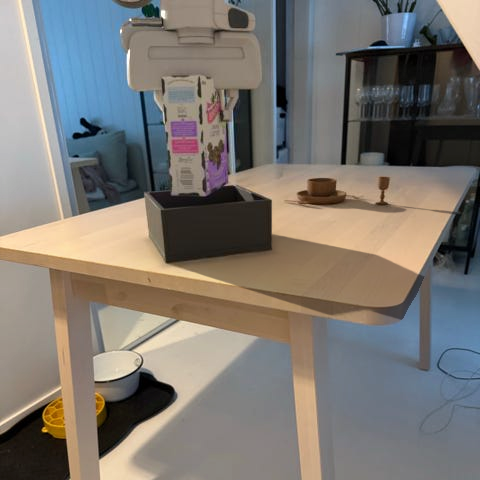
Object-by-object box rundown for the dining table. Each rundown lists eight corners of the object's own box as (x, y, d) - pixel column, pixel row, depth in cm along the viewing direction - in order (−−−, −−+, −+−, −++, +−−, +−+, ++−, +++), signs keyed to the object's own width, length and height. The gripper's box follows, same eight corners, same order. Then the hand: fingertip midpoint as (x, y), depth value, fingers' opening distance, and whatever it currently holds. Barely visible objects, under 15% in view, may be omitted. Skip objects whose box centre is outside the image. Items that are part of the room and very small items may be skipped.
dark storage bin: (165, 263, 70) (160, 210, 66) (149, 236, 85) (143, 192, 81) (272, 249, 75) (272, 199, 71) (238, 226, 90) (236, 184, 86)
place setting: (330, 192, 121) (331, 169, 118) (392, 203, 106) (395, 177, 103) (278, 201, 112) (278, 176, 110) (337, 214, 97) (339, 185, 94)
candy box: (206, 197, 69) (199, 72, 62) (169, 197, 70) (158, 75, 63) (229, 183, 81) (225, 78, 74) (197, 183, 82) (190, 79, 75)
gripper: (120, 12, 60) (133, 126, 66) (265, 16, 66) (266, 121, 72) (116, 20, 66) (128, 125, 72) (250, 23, 71) (252, 120, 77)
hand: (198, 123), depth 72 cm, fingers closed on candy box, 8 cm apart
